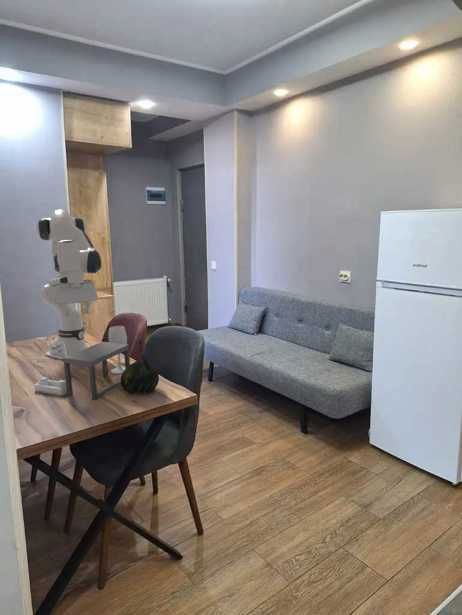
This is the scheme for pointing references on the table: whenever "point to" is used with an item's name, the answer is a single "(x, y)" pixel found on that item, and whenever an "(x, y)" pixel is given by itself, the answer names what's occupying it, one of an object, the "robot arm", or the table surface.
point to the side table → (92, 358)
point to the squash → (140, 377)
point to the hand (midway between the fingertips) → (76, 314)
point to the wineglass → (119, 336)
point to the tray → (51, 386)
